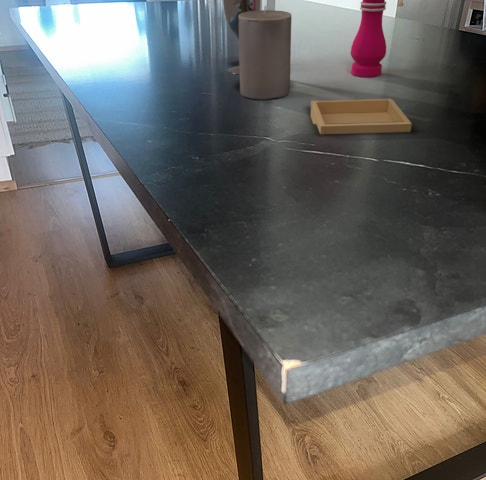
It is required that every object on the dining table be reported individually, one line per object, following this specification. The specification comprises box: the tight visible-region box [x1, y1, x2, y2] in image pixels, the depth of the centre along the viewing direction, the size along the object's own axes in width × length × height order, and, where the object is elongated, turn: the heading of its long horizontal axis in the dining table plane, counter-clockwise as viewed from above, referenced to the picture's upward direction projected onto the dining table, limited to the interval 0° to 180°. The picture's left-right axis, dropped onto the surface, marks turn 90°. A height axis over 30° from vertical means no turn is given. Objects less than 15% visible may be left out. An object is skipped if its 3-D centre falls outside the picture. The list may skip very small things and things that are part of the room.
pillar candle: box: [238, 5, 292, 100], centre depth 98 cm, size 10×10×15 cm
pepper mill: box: [350, 0, 387, 78], centre depth 106 cm, size 7×7×20 cm
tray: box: [310, 98, 413, 135], centre depth 84 cm, size 14×13×3 cm
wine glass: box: [222, 0, 262, 75], centre depth 112 cm, size 8×8×15 cm
